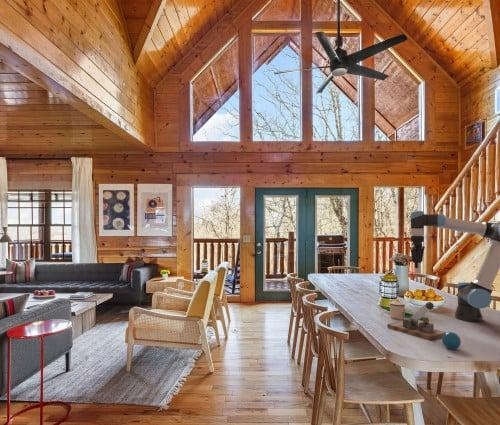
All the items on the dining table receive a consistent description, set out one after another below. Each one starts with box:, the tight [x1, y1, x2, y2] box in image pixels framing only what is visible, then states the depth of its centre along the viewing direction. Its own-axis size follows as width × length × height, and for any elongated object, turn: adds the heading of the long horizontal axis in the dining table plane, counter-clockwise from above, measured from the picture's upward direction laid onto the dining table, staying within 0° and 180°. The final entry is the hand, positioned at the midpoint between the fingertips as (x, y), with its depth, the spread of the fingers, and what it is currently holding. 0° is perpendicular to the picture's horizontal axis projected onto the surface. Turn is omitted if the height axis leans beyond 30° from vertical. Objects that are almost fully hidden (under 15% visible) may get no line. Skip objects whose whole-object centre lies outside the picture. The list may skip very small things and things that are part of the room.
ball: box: [441, 331, 462, 350], centre depth 165 cm, size 8×8×8 cm
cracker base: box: [386, 316, 446, 341], centre depth 191 cm, size 26×14×9 cm, turn 33°
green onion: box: [381, 306, 429, 321], centre depth 224 cm, size 5×3×30 cm
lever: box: [408, 301, 435, 325], centre depth 189 cm, size 4×4×19 cm
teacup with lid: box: [389, 298, 406, 320], centre depth 221 cm, size 12×9×12 cm
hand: (417, 273), depth 215 cm, fingers closed
